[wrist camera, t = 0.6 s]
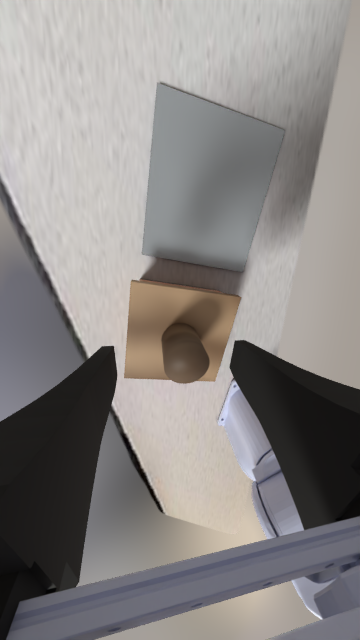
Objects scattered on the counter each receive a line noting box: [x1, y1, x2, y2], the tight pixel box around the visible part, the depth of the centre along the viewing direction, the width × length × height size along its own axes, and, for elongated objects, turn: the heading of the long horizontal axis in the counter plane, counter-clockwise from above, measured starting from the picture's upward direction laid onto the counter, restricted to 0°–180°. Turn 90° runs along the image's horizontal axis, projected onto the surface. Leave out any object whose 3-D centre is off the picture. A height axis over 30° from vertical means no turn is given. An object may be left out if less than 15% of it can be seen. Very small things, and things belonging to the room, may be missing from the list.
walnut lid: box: [124, 280, 241, 383], centre depth 16 cm, size 10×10×5 cm
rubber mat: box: [142, 83, 285, 272], centre depth 16 cm, size 12×11×1 cm
